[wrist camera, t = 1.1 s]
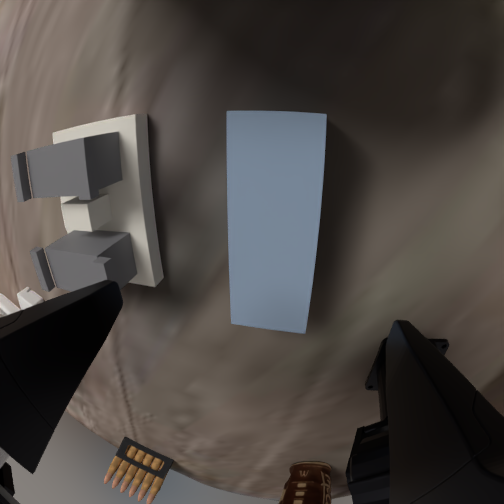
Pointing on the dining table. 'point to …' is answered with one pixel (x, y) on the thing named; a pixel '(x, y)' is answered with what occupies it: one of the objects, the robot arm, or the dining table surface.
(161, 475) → the ammunition clip
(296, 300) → the blue tapered block
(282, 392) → the dining table surface
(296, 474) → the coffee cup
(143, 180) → the white grey bracket mount
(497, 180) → the dining table surface
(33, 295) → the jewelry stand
